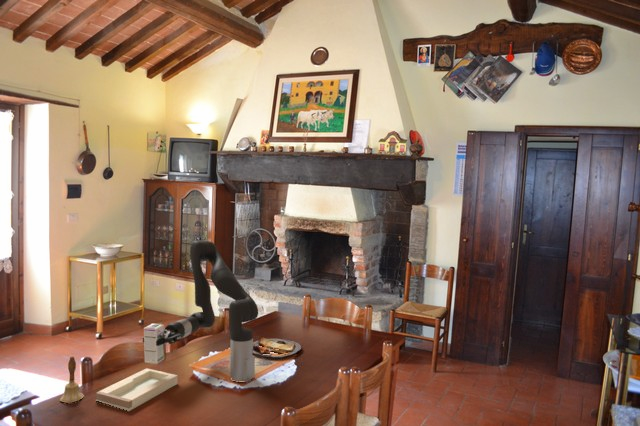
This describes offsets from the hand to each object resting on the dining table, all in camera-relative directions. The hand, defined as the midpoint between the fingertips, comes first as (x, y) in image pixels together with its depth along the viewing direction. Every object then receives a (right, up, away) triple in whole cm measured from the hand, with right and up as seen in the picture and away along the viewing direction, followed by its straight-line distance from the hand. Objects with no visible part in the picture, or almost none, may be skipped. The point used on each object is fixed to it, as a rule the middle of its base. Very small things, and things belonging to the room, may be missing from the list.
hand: (150, 341), depth 199 cm
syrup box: (+1, -9, +3) cm, 9 cm away
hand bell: (-25, -19, -11) cm, 33 cm away
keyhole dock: (-3, -18, -5) cm, 19 cm away
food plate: (+45, -16, +44) cm, 65 cm away
